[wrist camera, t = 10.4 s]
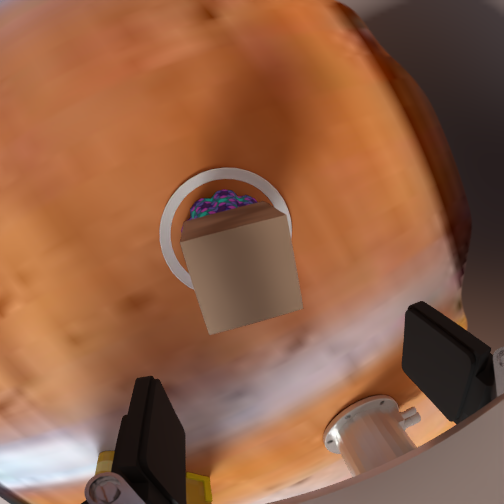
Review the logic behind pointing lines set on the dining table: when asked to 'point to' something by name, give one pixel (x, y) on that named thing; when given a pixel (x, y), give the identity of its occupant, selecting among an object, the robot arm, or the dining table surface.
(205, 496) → the book
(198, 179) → the pudding
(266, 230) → the walnut cube
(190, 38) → the dining table surface
